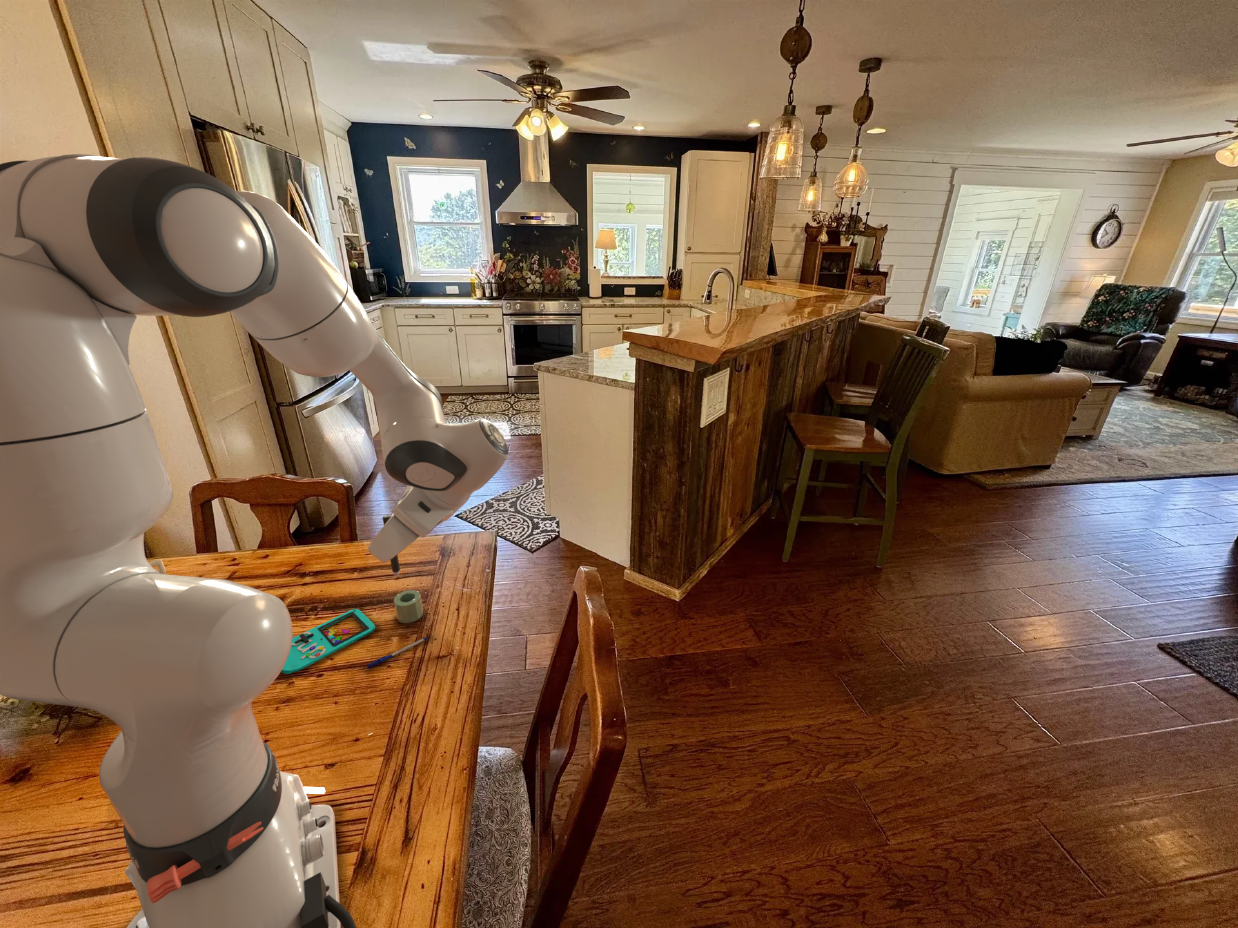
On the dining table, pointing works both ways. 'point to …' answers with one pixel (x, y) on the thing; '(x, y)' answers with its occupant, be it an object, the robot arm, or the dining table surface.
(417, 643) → the ballpoint pen
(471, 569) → the dining table surface
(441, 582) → the dining table surface
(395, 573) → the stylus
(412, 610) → the green hollow cylinder
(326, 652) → the handheld gaming console
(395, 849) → the dining table surface
